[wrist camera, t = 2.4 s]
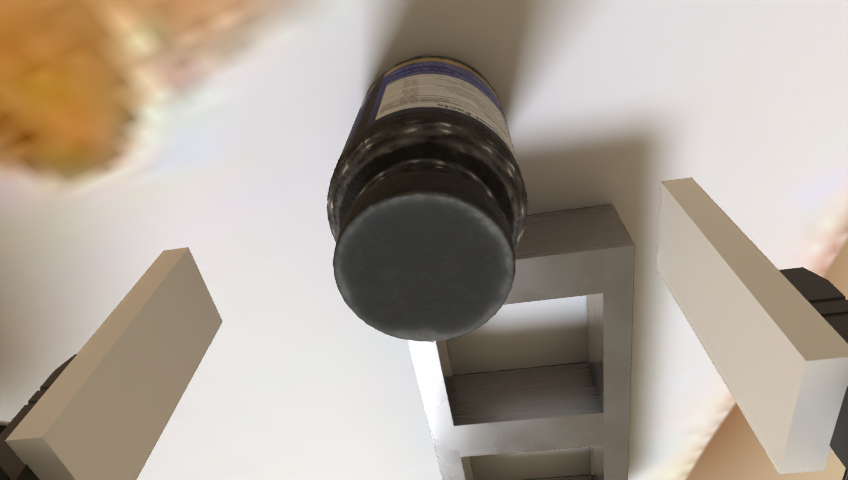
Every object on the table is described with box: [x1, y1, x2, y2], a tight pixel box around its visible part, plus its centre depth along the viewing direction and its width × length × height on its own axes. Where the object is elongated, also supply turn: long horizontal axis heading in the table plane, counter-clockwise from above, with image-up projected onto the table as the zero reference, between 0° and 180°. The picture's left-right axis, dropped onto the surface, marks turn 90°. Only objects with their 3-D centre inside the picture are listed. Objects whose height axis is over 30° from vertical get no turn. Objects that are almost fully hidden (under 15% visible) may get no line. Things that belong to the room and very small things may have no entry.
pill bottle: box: [327, 56, 527, 342], centre depth 19 cm, size 6×6×11 cm
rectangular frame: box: [408, 204, 635, 480], centre depth 30 cm, size 22×10×4 cm, turn 10°
